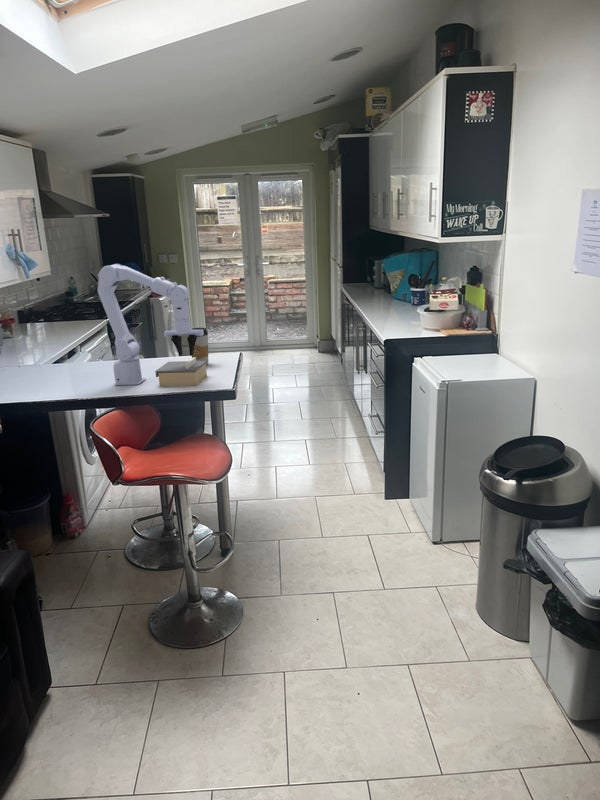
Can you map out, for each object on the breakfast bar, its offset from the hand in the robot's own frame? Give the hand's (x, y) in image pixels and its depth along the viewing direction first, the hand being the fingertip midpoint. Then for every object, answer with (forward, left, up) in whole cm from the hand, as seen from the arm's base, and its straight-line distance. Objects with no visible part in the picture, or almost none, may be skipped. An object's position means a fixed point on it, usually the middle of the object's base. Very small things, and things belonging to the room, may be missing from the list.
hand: (186, 355), depth 226 cm
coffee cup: (-3, +26, -10) cm, 28 cm away
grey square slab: (-2, 0, -6) cm, 7 cm away
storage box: (-2, 0, -10) cm, 10 cm away
